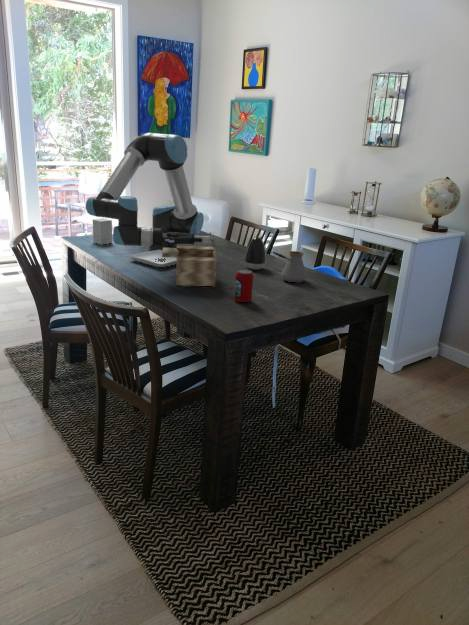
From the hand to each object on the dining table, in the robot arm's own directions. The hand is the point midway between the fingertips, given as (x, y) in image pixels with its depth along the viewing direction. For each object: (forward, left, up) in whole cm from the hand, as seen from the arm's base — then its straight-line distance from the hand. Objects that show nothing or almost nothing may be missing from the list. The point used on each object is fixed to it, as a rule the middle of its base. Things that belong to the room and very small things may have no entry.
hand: (209, 239), depth 207 cm
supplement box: (-67, +49, -19) cm, 86 cm away
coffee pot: (+33, +13, -19) cm, 40 cm away
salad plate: (-28, +24, -19) cm, 42 cm away
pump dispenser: (+17, +31, -19) cm, 40 cm away
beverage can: (+18, -19, -19) cm, 32 cm away
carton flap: (+1, +1, -2) cm, 3 cm away
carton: (-8, -1, -19) cm, 20 cm away
